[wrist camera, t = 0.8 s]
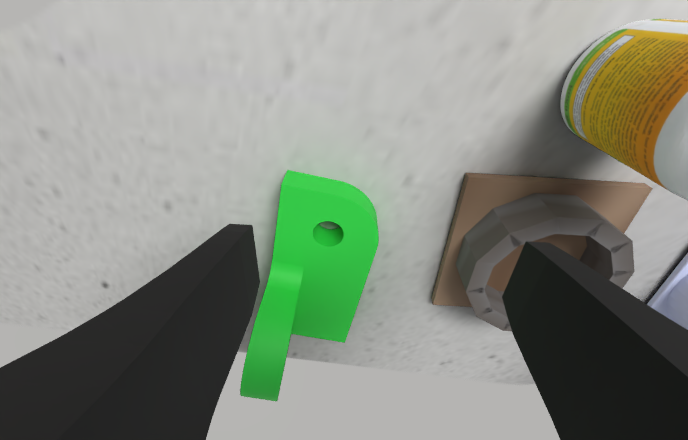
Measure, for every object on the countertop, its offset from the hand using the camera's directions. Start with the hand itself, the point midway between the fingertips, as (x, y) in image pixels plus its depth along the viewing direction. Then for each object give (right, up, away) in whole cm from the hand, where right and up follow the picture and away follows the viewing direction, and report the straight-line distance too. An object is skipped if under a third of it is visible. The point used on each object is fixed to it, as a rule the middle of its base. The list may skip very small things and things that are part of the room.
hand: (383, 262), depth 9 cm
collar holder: (+11, -1, +12) cm, 16 cm away
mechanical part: (-3, -1, +14) cm, 14 cm away
